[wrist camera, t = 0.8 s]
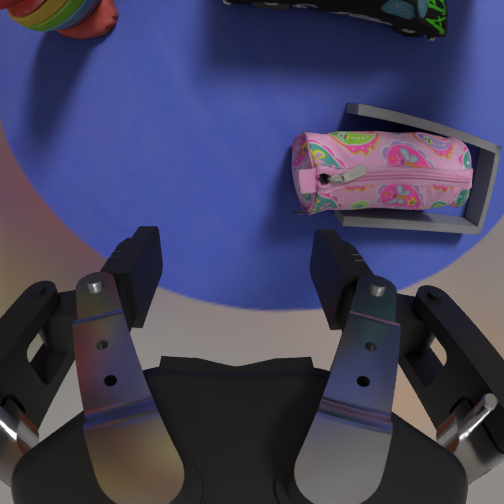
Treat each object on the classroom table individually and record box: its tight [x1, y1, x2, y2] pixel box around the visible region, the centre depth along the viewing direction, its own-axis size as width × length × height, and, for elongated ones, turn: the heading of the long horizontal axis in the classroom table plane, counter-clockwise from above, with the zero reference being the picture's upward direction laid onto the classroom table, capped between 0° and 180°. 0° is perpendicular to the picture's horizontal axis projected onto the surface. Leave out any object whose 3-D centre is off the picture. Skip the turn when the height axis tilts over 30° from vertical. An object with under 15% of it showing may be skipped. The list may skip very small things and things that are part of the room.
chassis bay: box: [334, 103, 501, 235], centre depth 31 cm, size 14×24×4 cm, turn 88°
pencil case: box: [292, 131, 473, 215], centre depth 28 cm, size 21×9×9 cm, turn 94°
